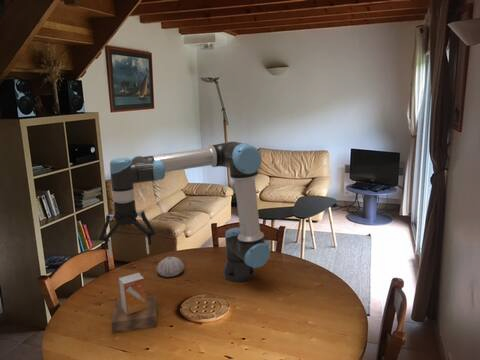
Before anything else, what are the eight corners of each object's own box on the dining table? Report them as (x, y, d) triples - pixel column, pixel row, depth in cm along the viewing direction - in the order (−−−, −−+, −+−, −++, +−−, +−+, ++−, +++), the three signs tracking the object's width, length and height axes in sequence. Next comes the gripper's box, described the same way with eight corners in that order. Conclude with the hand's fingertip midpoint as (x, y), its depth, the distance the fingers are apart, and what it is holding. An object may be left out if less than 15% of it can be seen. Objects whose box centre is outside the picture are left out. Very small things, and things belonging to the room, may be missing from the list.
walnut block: (156, 306, 168) (155, 295, 167) (156, 328, 153) (155, 316, 151) (116, 312, 165) (115, 301, 164) (112, 334, 149) (111, 322, 148)
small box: (127, 315, 153) (123, 284, 150) (122, 308, 158) (118, 277, 155) (147, 308, 157) (144, 277, 154) (142, 302, 162) (138, 272, 159)
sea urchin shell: (162, 281, 190) (160, 265, 188) (153, 271, 202) (152, 256, 200) (188, 274, 196) (187, 259, 195) (178, 265, 208) (177, 250, 206)
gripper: (158, 195, 155) (162, 247, 159) (90, 201, 150) (96, 254, 154) (158, 200, 147) (163, 254, 152) (86, 206, 143) (93, 262, 147)
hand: (129, 254), depth 153 cm, fingers open, 13 cm apart
